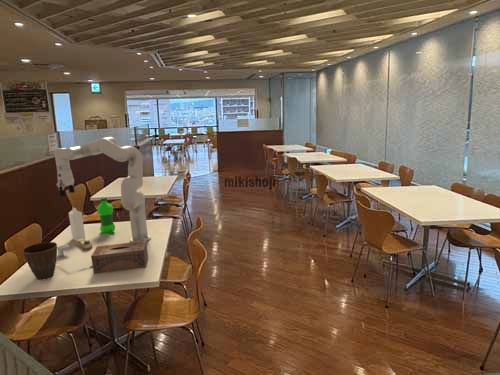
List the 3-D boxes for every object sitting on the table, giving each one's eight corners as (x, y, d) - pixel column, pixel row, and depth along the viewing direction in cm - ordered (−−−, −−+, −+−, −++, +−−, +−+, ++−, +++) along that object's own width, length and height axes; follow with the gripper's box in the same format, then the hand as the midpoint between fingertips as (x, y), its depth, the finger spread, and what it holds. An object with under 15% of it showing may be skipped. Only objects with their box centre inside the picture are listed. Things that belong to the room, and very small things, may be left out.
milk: (76, 242, 237) (71, 209, 232) (72, 240, 241) (67, 208, 236) (86, 240, 241) (80, 207, 236) (82, 238, 245) (77, 206, 240)
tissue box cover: (93, 274, 188) (91, 256, 186) (99, 263, 202) (97, 246, 200) (145, 268, 192) (143, 250, 190) (148, 257, 206) (146, 240, 204)
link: (93, 248, 221) (92, 241, 220) (85, 250, 218) (83, 243, 217) (84, 242, 232) (83, 235, 231) (75, 244, 229) (74, 237, 228)
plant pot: (66, 275, 188) (61, 245, 184) (34, 286, 177) (29, 255, 174) (55, 268, 198) (50, 240, 194) (24, 278, 187) (18, 248, 183)
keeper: (71, 256, 213) (70, 246, 212) (61, 259, 209) (59, 249, 208) (69, 254, 217) (67, 244, 215) (58, 257, 213) (57, 246, 212)
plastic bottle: (97, 235, 249) (92, 199, 244) (107, 230, 259) (102, 195, 254) (109, 236, 246) (104, 199, 241) (119, 231, 256) (114, 196, 251)
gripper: (60, 169, 222) (65, 197, 226) (76, 165, 239) (80, 191, 243) (49, 170, 223) (53, 197, 227) (66, 165, 240) (70, 191, 244)
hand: (67, 194), depth 235 cm, fingers open, 9 cm apart
